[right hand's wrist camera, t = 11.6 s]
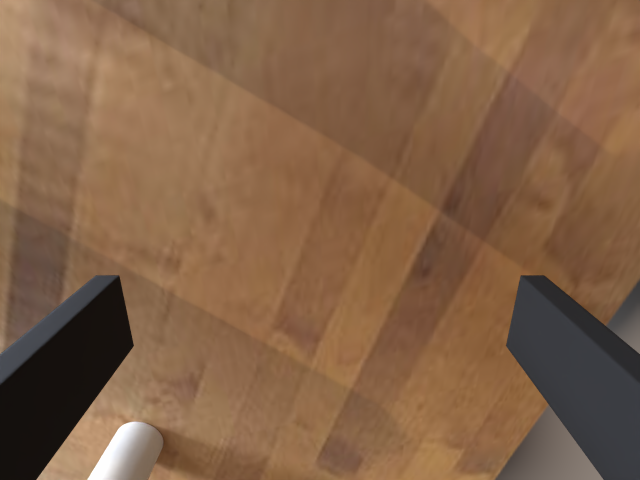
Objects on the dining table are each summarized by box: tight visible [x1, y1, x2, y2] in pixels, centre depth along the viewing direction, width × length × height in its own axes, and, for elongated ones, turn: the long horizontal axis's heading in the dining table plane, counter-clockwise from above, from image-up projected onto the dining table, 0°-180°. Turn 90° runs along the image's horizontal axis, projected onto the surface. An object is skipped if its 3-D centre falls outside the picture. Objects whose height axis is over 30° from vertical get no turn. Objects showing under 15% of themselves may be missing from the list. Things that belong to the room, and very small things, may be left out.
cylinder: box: [88, 422, 163, 480], centre depth 39 cm, size 5×5×9 cm
